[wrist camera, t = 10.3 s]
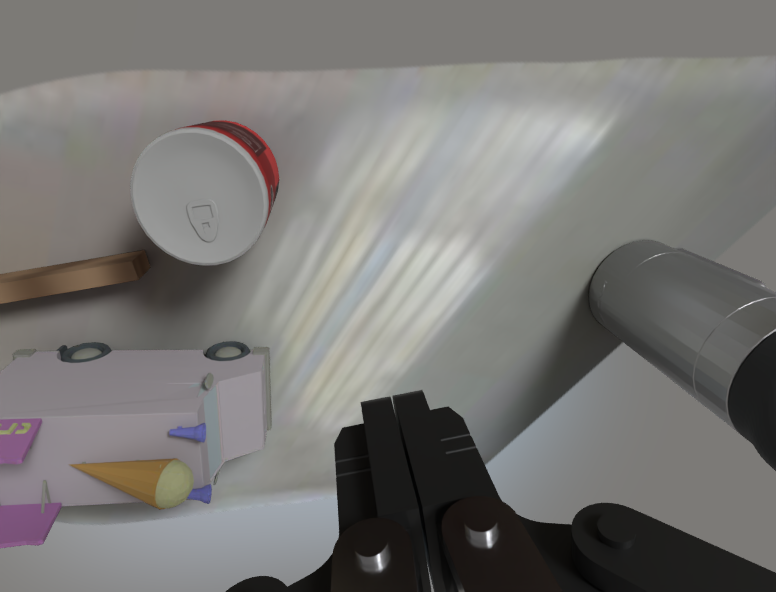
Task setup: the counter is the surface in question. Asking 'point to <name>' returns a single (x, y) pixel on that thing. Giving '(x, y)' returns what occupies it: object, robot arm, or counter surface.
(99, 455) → the toy vehicle
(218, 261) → the canned food
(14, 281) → the wooden rails pair
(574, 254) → the counter surface
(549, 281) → the counter surface
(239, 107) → the counter surface
